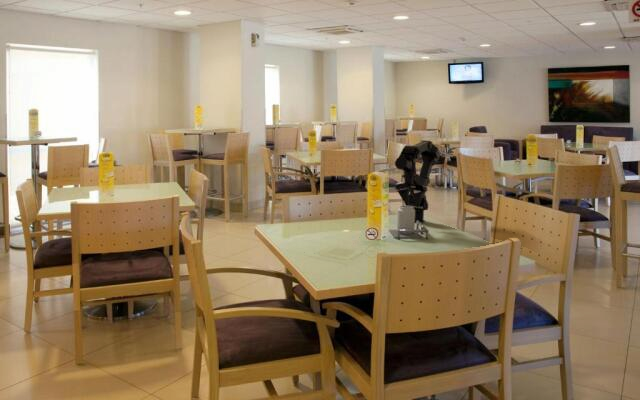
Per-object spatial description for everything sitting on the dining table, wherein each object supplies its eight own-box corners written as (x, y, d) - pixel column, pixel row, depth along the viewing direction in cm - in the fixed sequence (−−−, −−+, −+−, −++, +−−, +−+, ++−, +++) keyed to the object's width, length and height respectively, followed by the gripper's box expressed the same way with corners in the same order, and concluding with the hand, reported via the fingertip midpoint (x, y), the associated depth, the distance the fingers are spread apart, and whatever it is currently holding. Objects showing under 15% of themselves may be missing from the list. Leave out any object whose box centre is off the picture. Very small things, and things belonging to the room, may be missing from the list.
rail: (389, 228, 253) (390, 219, 252) (418, 228, 254) (418, 219, 253) (397, 239, 233) (397, 230, 233) (428, 239, 234) (428, 230, 233)
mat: (389, 230, 249) (389, 229, 249) (415, 230, 249) (415, 229, 249) (394, 238, 235) (394, 237, 235) (422, 238, 236) (422, 237, 236)
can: (413, 231, 246) (414, 204, 244) (414, 235, 238) (415, 208, 236) (396, 231, 247) (397, 204, 244) (397, 234, 239) (398, 207, 237)
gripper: (414, 166, 241) (417, 202, 239) (435, 172, 255) (438, 205, 253) (393, 171, 248) (395, 205, 246) (414, 176, 262) (417, 208, 260)
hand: (412, 206), depth 251 cm, fingers open, 9 cm apart
